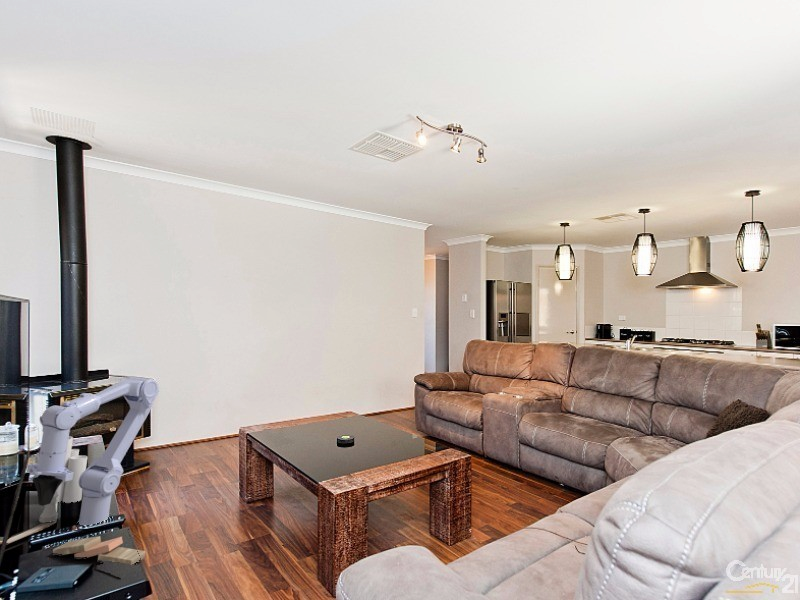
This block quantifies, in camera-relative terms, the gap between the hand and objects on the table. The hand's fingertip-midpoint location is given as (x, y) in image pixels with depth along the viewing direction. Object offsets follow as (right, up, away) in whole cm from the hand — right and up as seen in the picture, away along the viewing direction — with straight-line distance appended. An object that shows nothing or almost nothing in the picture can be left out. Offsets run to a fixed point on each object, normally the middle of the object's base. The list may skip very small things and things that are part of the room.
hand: (44, 504), depth 119 cm
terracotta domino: (+13, -11, -4) cm, 17 cm away
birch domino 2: (+20, -10, -5) cm, 23 cm away
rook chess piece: (-10, -11, +13) cm, 20 cm away
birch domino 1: (+7, -10, -3) cm, 13 cm away
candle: (-17, -12, +28) cm, 35 cm away
